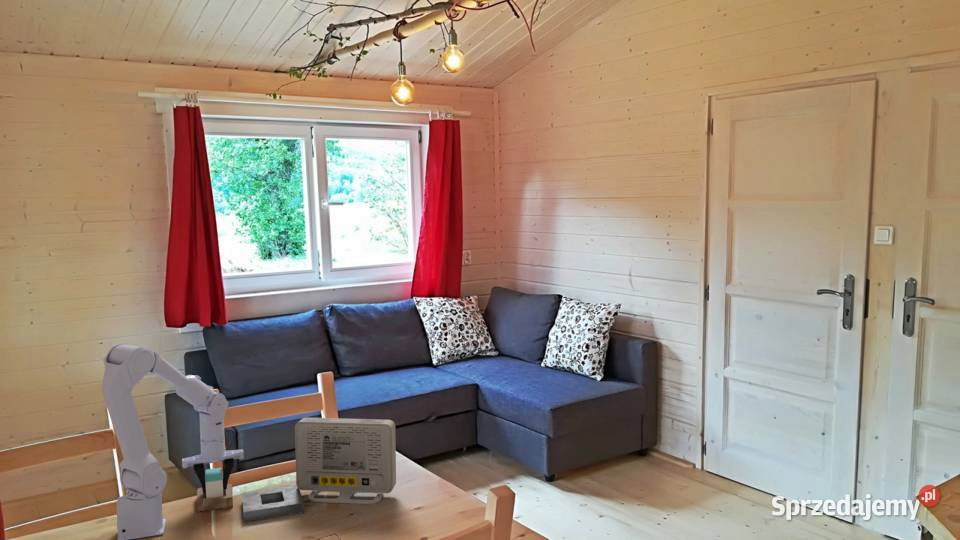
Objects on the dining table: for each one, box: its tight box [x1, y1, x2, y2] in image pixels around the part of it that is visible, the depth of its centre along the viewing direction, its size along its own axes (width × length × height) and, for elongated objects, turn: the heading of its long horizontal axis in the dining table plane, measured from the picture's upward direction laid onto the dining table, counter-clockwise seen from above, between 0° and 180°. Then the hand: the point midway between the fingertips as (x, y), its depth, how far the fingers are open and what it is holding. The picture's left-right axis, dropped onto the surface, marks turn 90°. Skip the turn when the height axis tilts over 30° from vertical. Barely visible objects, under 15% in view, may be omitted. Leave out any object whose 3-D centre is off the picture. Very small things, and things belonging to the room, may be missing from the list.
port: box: [241, 485, 305, 523], centre depth 171 cm, size 14×12×2 cm
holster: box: [196, 483, 234, 513], centre depth 175 cm, size 8×9×2 cm
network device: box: [294, 417, 397, 505], centre depth 177 cm, size 26×9×20 cm, turn 84°
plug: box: [205, 467, 223, 499], centre depth 175 cm, size 4×5×8 cm
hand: (214, 490), depth 175 cm, fingers closed on plug, 4 cm apart
